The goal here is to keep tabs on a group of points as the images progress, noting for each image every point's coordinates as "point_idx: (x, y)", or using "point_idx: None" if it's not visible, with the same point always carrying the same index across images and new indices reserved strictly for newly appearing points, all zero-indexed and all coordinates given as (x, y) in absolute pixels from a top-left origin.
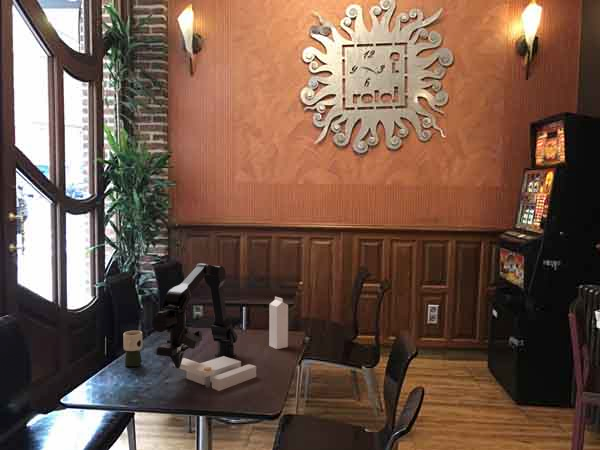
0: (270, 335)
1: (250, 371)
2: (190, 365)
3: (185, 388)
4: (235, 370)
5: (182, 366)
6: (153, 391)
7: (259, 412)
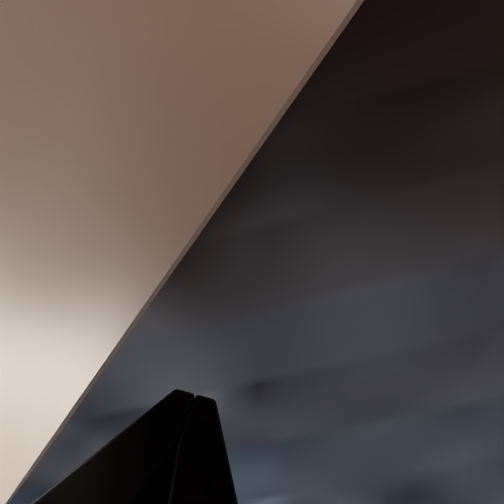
0: None
1: None
2: (111, 202)
3: (406, 171)
4: None
5: (108, 357)
6: (473, 453)
7: None
